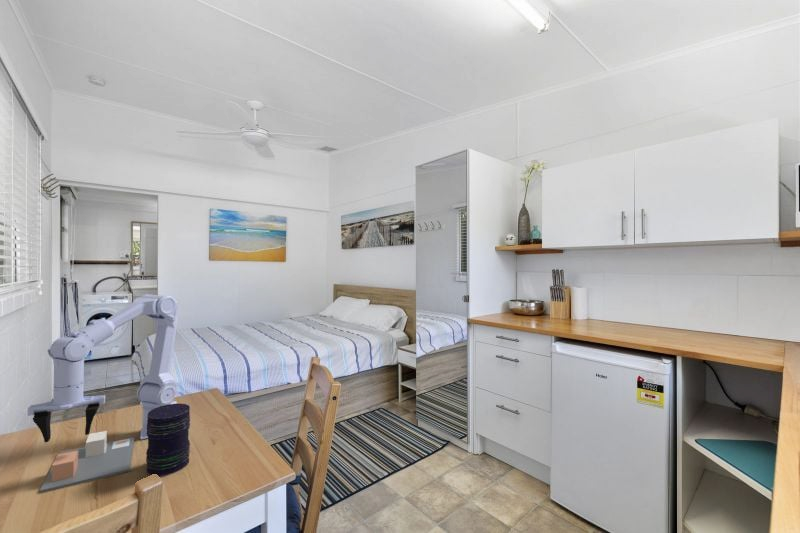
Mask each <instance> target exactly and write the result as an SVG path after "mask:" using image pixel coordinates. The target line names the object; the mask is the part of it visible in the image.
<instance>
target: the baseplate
mask: <svg viewBox="0 0 800 533" xmlns="http://www.w3.org/2000/svg"><path fill="white" fill-rule="evenodd" d="M134 445H135V437H134V436H133V437H129V438H124V439H119V440H114V441H109V442H108V441H107V445H106V449H105V452H104V453H103V454H98V455H94V456H89V457H86V446H84V447H79V448H74V449H69V450H64V451H60V452H59V453H58V454H63V453H68V452H73V451H78V467H77V469H76V472H75V474H74V477H71V478H67V479H62V480H58V481H54V482H52V467H51V468H50V470H49V472H48V474H47V476H46V478H45V480H44V482H43V484H42V485H41V488H40V489H39V494H41V493H47V492H50V491H55V490H58V489H64V488H66V487H67V488H68V487H71V486H75V485H79V484H84V483H87V482H92V481H96V480H100V479H103V478H108V477H112V476H116V475H119V474H124V473H128V472H130V471H131V465H132V464H131V463H132V458H133V451H134Z"/></svg>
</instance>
